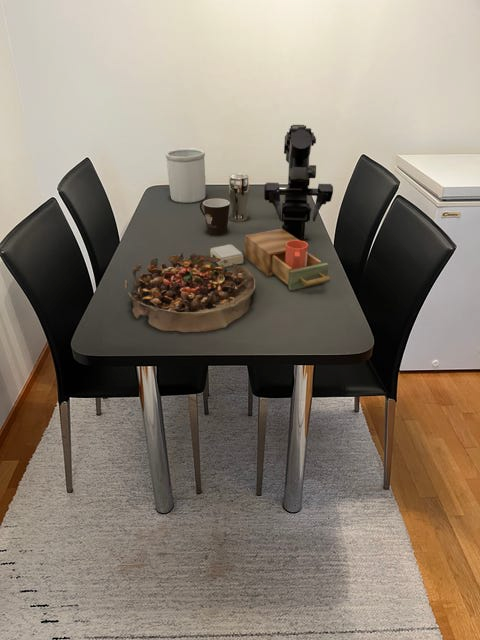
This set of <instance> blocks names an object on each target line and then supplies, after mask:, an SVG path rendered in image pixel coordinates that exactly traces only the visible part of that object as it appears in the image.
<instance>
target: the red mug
mask: <svg viewBox="0 0 480 640" xmlns="http://www.w3.org/2000/svg"><path fill="white" fill-rule="evenodd" d="M308 253H309V243H308V242H307V241H305V240H301V241H300V240H292V241H288V242H287V243H286V254H285V264H287V265H288V266H289V267H291V268H292V269H291V270H294V269H299V268H303V267H307V255H308Z"/></svg>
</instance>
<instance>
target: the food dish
mask: <svg viewBox="0 0 480 640" xmlns="http://www.w3.org/2000/svg"><path fill="white" fill-rule="evenodd" d="M167 260H168V262H170V263H171V266H167V265H166V263H164V262H162V263H161V266H160V268H158V262H159V259H158V258H153V259H151V260H150V263H149V266H147V271H148V273H141V274H140V276H139V279H137V272H140V270H141V269H142V268H143V264H141V263H140V264H138V265H136V266H134V268H133V269H132V271H131V272H132V273H131V274H132V276H133V278H134V281H135V284H134V287H133V288H134V290H133V293H134V295H132V293H131V292H129V291H128V289H129V288H128V287H129V283H128V280H127V279H125V280H124V284H125V285H124V286H125V290H126V291H127V294H128V296H129V297H130V298H131V301H132V306H133V308H132V309H131V311H132V313H133V317H135V319H137V320H138V319H139V318H140V316H147V317H148V320H147V322H148V325H150V326H151V327H153V328H156V329H158V330H160V331H164V332H175V331H176V332H179V333H191V332H192V333H193V332H197V333H198V332H209V331H214V330H219V329H224V328H226V327H227V326H228V325H229V324H231V323H233V322H234V321H236V320H238V319H239V318H241V317H242V316H243V315H245V314H246V313H247V312H248V311H249V310H250V304H251V303H252V296H253V294H254V292H255V290H256V288H257V287H256V284H257V282H256V279H255V277H254V275H253V274H252V272H251V271H250V270H248V269H246V268H245V267H244V266H240V265H239V264H233V263H232V264H233V265H232V266H233V267H232V268H233V270H235V271H236V273H235V272H234V271H230V270H229V271H228V270H227V268H226V267H224V266H223V265H222V266H221V267H220V266H219V265H218V264H217V265H215V266H213V265H212V264H214V263H216V262H218V261H220V260H221V259H220V258H215V257H211V256H208V255H202V254H201V255H200V254H197V253H191V254H190V256H189V258H187V259H186V258H185V257H184V253H183V252H180V254H179V255H176V254H175V255H169V256H168V257H167ZM206 262H209V263H206ZM223 262H224V263H227V262H228V261H227V260H224V261H223ZM210 263H212V264H210Z"/></svg>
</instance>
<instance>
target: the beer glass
mask: <svg viewBox="0 0 480 640" xmlns="http://www.w3.org/2000/svg"><path fill="white" fill-rule="evenodd" d="M228 177H229V178H228V194H229V195H228V196H229V202H230V206H231V207H230V208H231V210H230V217H229V218H230V220H231V221H233V222H244V221H247V220H248V211H247V208H248V207H247V206H248V202H249V201H248V200H249V194H250V182H249V181H250V180H249V179H250V178H249V177H250V176H249V175H248V174H247V173H241V172H239V173H231V174H230V175H228Z"/></svg>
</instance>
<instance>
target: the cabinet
mask: <svg viewBox="0 0 480 640" xmlns="http://www.w3.org/2000/svg"><path fill="white" fill-rule="evenodd" d="M292 240H298V239H297V238H295V237H294V236H292V235H291V234H289V233H288V232H286V231H285V230H283V229H282V228H277V229H272V230H267V231H266V230H265V231H261V232H255V233H251V234H245V235H244V258H246V260H248V261H249V262H250V263H251V264H252V265H254V266H255V267H256V268H257V269H258V270H260V271H261V272H262V273H263V274H264V275H265V276H267V277H271V276H276V275H275V274H274V273H273V272H271V271H270V261H271V255H274V254H279V253H284V252H286V243H287V242H288V241H292Z"/></svg>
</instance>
